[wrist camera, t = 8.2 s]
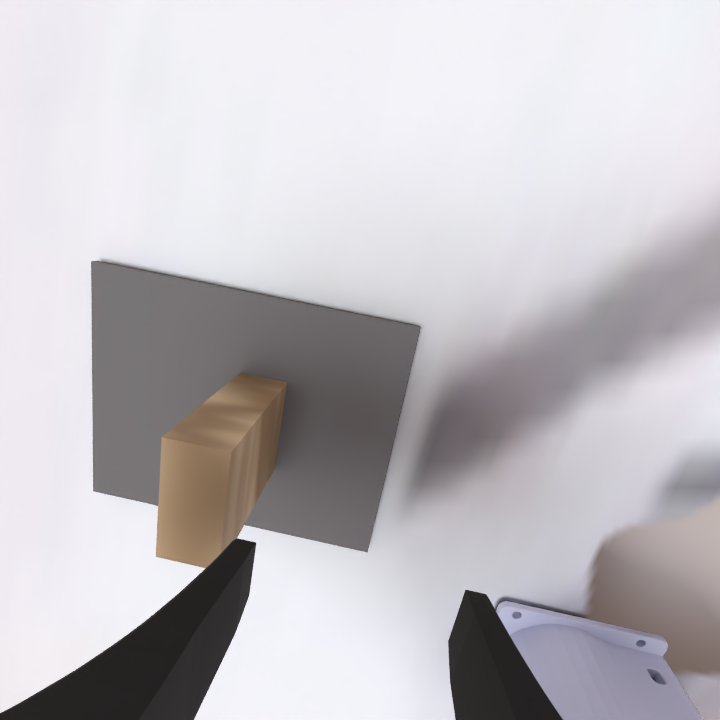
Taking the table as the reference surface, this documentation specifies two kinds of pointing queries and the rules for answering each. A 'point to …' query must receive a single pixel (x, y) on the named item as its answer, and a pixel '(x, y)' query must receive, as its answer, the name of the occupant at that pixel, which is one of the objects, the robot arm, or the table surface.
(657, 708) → the robot arm
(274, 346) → the mat
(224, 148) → the table surface
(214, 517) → the block
